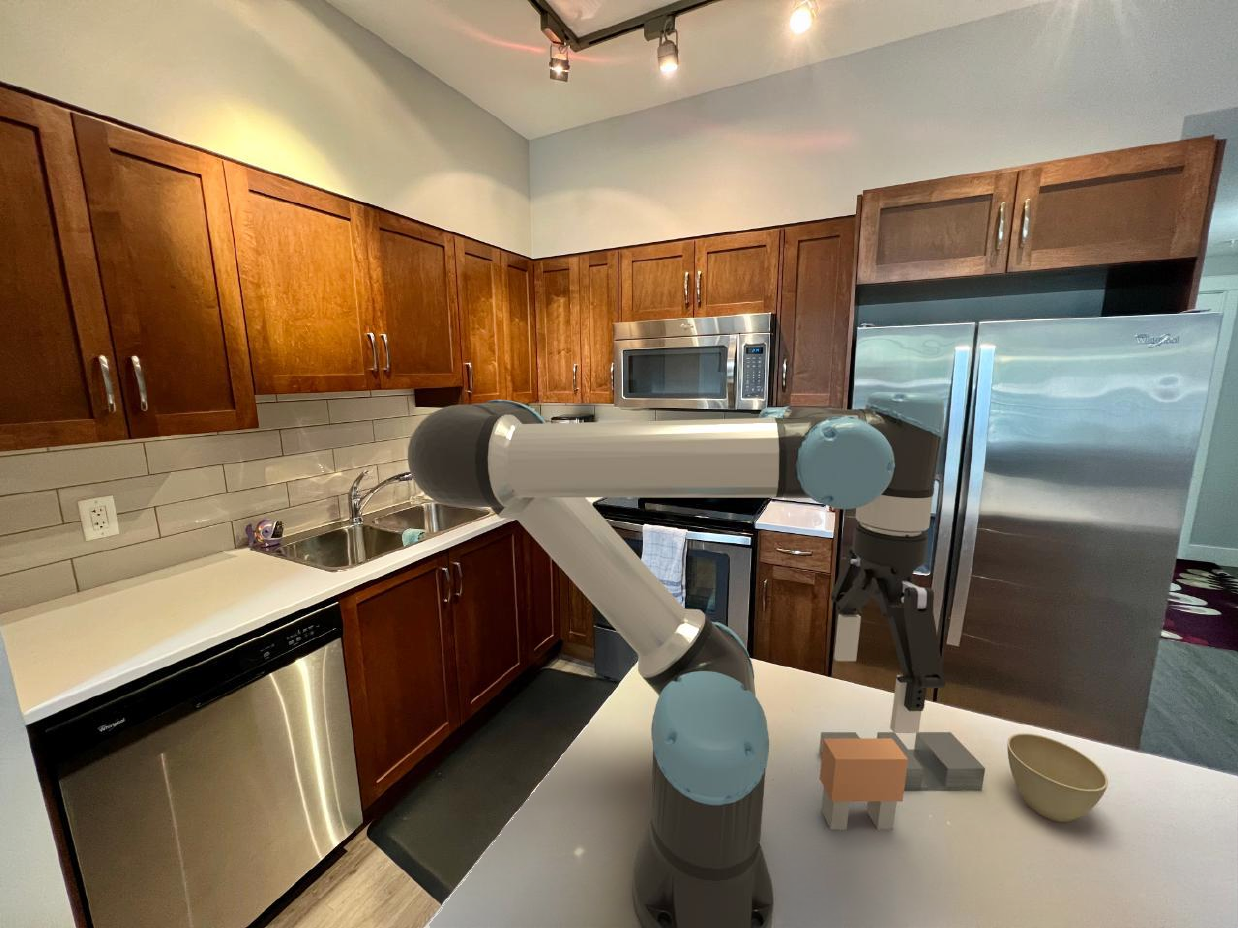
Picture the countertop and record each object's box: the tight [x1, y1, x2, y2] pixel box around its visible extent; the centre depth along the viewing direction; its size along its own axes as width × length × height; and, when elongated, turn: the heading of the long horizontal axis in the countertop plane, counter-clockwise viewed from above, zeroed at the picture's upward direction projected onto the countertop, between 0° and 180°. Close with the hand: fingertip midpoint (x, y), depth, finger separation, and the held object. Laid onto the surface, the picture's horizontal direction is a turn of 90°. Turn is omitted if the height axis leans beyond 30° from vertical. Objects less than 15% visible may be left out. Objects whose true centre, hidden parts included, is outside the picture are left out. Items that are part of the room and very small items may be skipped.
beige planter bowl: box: [1006, 732, 1109, 823], centre depth 65 cm, size 10×10×7 cm
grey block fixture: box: [818, 731, 986, 791], centre depth 71 cm, size 20×7×4 cm, turn 91°
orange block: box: [819, 737, 908, 831], centre depth 62 cm, size 9×4×10 cm, turn 91°
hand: (871, 691), depth 60 cm, fingers open, 13 cm apart
